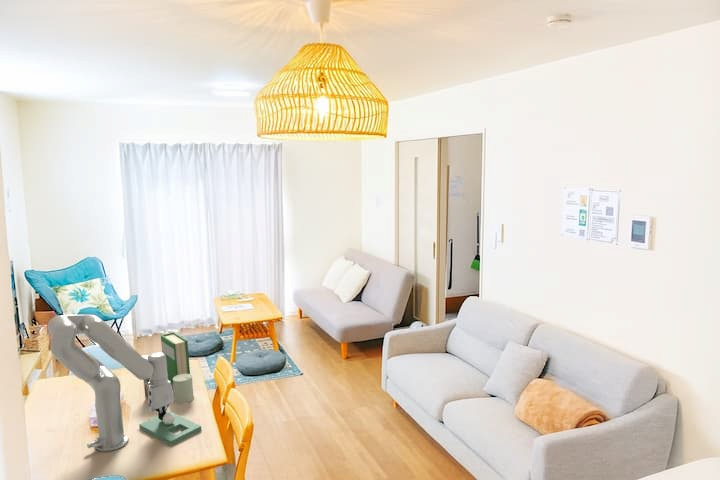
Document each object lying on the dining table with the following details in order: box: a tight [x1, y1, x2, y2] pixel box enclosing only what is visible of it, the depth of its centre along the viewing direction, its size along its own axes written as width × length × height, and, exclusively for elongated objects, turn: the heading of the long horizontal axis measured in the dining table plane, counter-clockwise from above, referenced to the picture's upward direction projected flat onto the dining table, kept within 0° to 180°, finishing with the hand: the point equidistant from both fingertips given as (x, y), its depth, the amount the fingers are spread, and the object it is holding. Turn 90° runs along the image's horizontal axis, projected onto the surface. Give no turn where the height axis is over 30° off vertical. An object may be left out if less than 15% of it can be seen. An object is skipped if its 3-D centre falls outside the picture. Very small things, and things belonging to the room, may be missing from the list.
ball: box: [163, 413, 175, 425], centre depth 235 cm, size 5×5×5 cm
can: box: [172, 373, 195, 405], centre depth 262 cm, size 9×9×12 cm
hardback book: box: [160, 331, 191, 385], centre depth 283 cm, size 18×7×24 cm, turn 41°
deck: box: [138, 410, 202, 446], centre depth 234 cm, size 15×24×2 cm, turn 53°
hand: (162, 419), depth 237 cm, fingers closed
